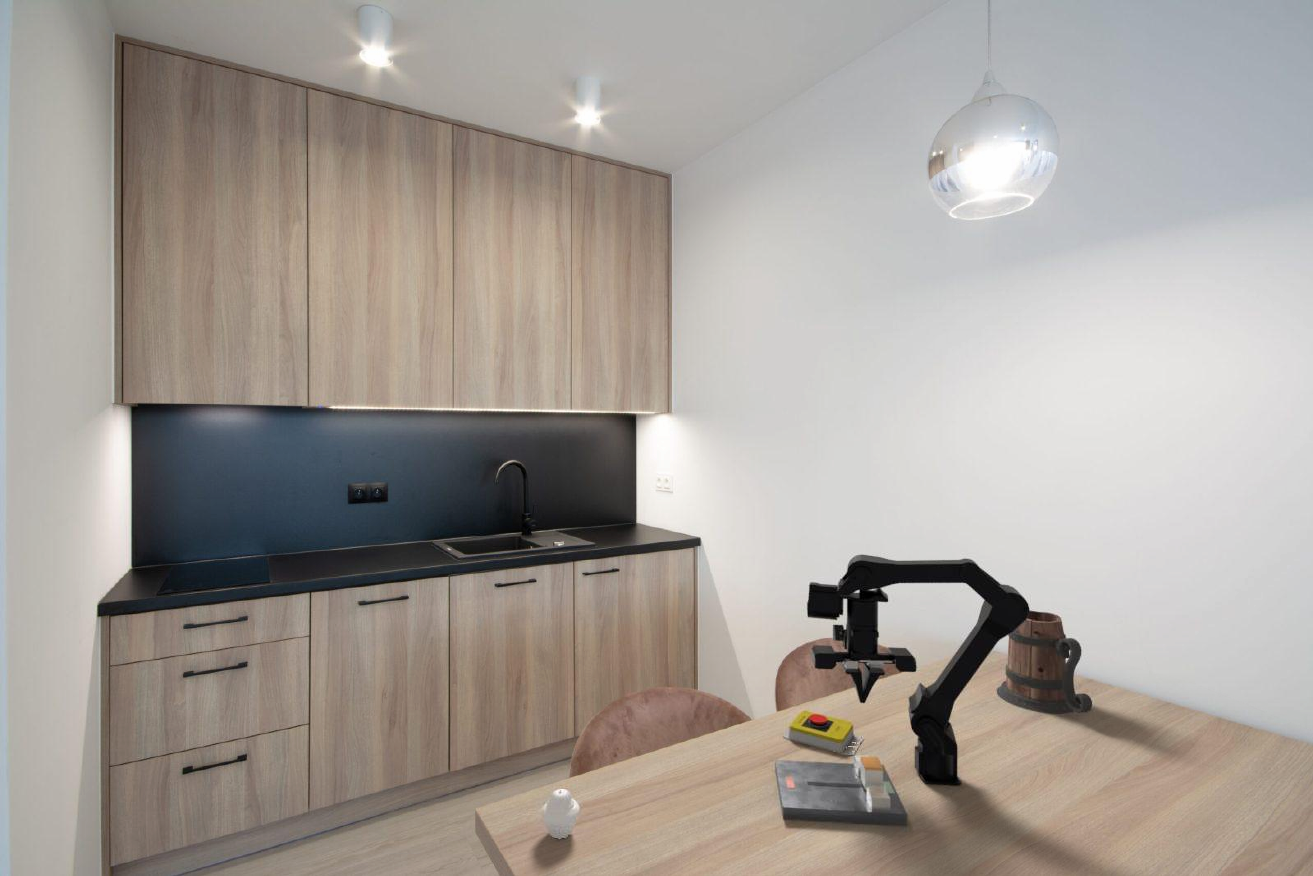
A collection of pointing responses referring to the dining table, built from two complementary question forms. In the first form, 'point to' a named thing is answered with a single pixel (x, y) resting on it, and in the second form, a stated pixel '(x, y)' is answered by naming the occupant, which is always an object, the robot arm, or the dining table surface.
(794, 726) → the emergency button
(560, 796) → the white rounded lump
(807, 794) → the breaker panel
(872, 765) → the block
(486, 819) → the dining table surface
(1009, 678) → the tankard
